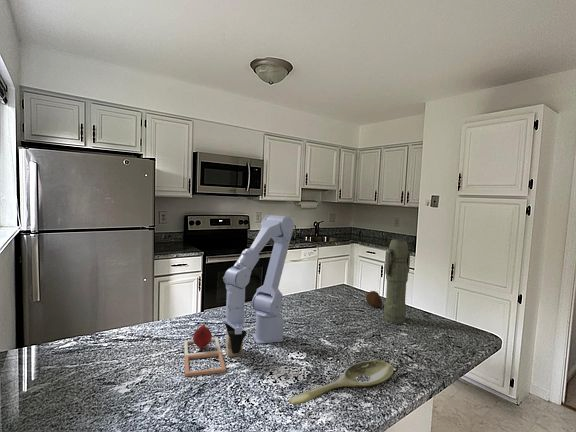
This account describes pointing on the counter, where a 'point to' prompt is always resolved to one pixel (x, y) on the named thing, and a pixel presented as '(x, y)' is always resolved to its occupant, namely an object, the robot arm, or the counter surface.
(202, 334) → the onion
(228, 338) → the birch block
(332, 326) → the counter surface
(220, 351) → the cream frame
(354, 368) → the spoon
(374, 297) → the potato
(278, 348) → the counter surface
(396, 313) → the thermos
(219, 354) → the terracotta frame
